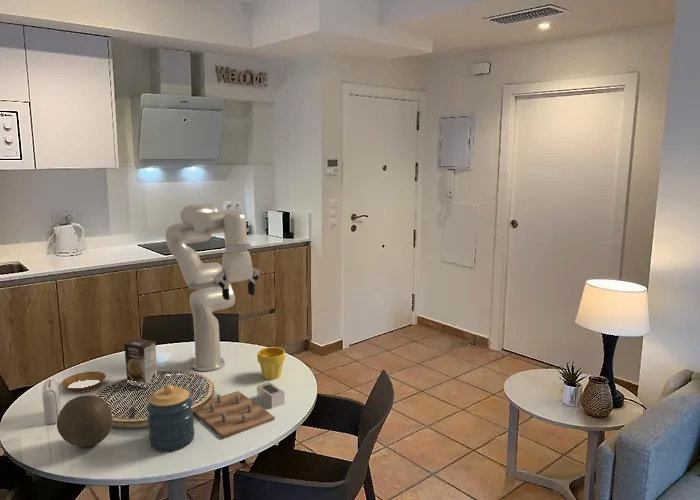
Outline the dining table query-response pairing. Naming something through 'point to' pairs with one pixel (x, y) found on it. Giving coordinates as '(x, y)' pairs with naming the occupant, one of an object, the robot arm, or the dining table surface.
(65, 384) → the plant saucer
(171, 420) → the canister
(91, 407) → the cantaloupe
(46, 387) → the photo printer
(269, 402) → the block
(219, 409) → the wooden peg board
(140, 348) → the coffee box
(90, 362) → the dining table surface
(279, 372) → the plant pot
